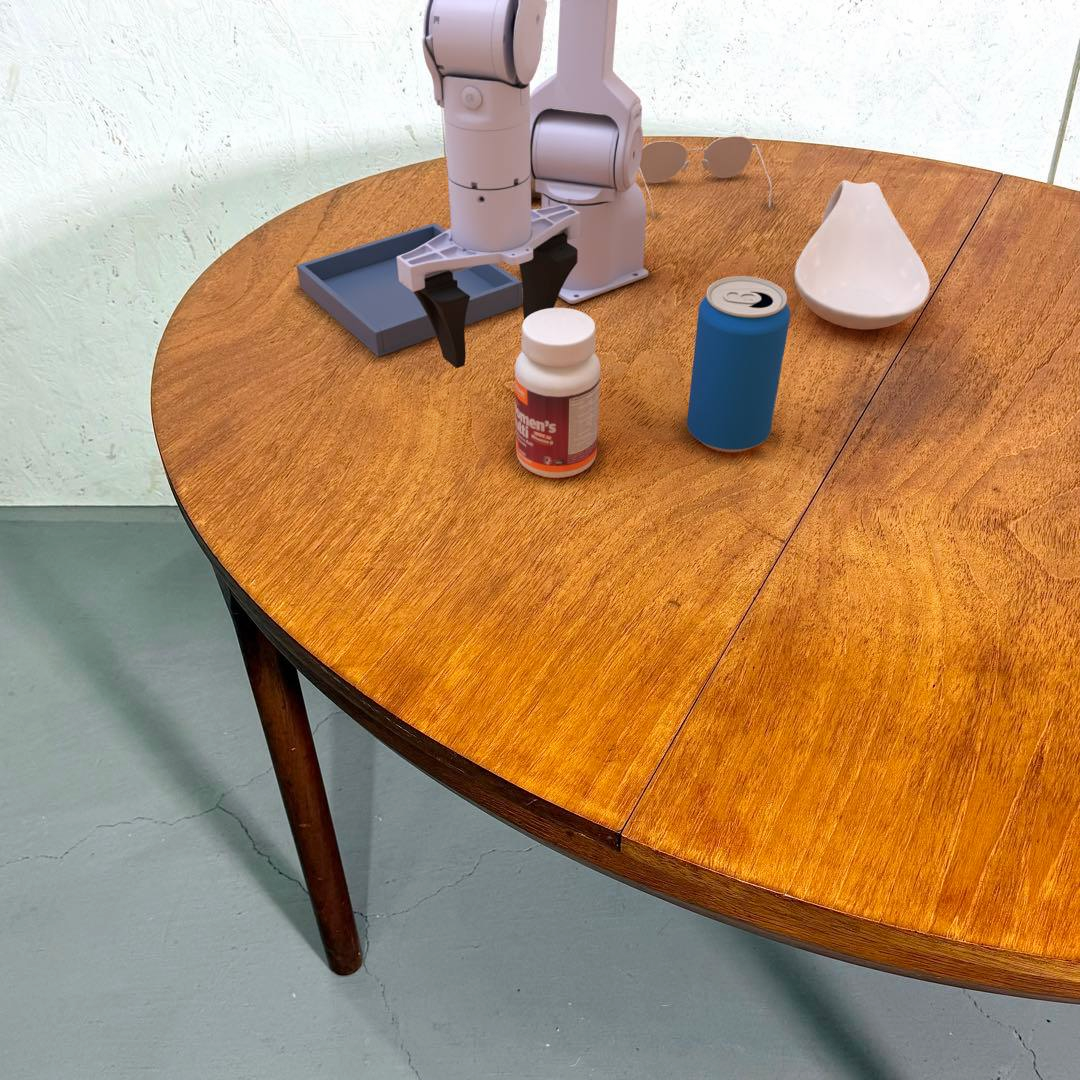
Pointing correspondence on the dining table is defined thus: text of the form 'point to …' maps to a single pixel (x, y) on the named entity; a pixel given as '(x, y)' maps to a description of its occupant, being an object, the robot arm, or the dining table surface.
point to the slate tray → (396, 291)
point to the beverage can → (737, 362)
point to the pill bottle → (557, 393)
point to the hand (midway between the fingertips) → (495, 345)
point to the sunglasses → (718, 159)
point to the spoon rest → (861, 263)
